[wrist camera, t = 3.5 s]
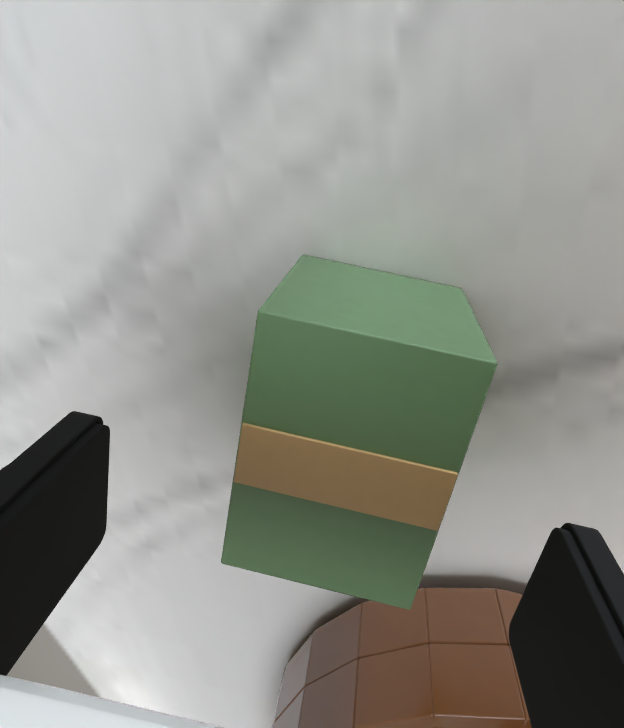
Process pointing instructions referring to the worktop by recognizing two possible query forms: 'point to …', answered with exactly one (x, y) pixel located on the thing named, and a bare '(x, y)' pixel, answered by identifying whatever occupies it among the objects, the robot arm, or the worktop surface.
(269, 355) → the package
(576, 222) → the worktop surface
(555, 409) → the worktop surface
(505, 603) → the bowl
